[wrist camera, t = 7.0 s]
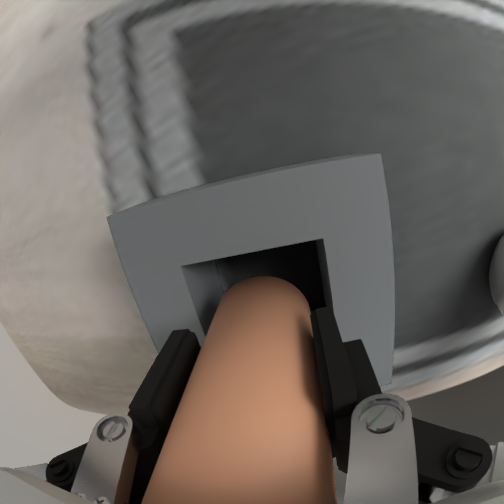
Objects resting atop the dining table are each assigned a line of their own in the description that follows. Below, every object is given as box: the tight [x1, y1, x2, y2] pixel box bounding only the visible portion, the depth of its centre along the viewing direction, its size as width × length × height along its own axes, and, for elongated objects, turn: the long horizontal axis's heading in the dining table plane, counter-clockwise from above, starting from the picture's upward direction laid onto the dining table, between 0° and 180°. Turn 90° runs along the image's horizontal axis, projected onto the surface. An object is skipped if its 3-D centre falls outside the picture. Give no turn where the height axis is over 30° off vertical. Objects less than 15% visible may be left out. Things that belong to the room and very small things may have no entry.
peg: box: [141, 276, 337, 504], centre depth 7 cm, size 4×4×10 cm
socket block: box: [107, 153, 395, 386], centre depth 14 cm, size 11×11×4 cm
